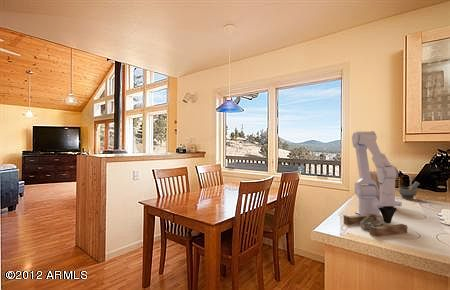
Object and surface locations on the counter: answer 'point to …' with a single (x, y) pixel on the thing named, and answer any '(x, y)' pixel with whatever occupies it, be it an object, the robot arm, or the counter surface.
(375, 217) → the chute
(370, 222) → the egg carton
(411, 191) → the mortar and pestle
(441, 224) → the counter surface
